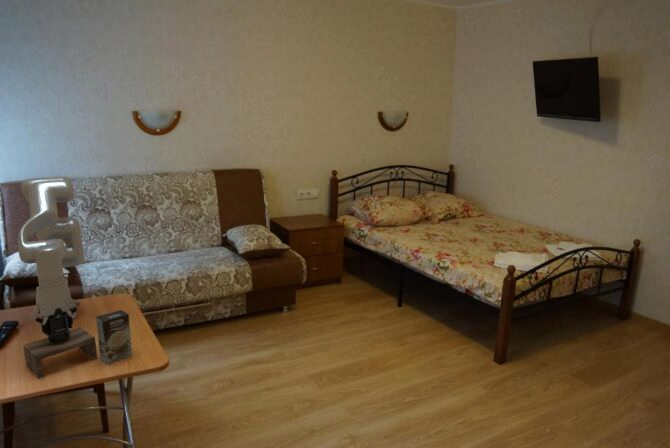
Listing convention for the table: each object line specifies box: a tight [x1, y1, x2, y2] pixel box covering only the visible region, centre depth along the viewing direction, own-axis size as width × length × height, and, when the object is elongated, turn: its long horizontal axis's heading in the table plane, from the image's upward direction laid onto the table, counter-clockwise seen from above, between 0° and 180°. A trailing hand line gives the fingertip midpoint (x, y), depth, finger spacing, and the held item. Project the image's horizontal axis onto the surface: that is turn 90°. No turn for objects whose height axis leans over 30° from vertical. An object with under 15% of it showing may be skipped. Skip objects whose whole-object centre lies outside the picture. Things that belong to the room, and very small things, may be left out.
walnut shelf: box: [22, 327, 98, 380], centre depth 176 cm, size 12×19×8 cm, turn 137°
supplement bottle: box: [46, 308, 71, 343], centre depth 174 cm, size 7×7×12 cm
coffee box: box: [95, 309, 133, 365], centre depth 179 cm, size 9×6×16 cm
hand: (58, 330), depth 174 cm, fingers closed on supplement bottle, 6 cm apart
